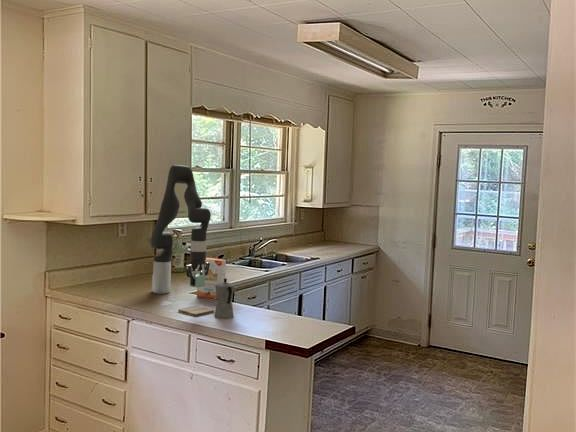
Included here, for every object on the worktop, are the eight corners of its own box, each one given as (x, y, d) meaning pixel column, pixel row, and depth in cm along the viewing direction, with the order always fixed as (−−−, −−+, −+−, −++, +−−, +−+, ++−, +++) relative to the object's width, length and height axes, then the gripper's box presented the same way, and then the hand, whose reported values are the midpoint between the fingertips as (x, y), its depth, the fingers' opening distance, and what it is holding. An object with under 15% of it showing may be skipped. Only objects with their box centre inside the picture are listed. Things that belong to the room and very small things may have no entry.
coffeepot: (210, 313, 273) (211, 276, 272) (229, 312, 277) (230, 275, 276) (219, 321, 259) (221, 282, 258) (239, 320, 263) (241, 281, 261)
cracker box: (196, 297, 306) (197, 258, 304) (201, 294, 311) (202, 256, 310) (220, 299, 301) (221, 260, 300) (225, 297, 307) (226, 259, 306)
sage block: (189, 285, 273) (190, 275, 272) (197, 284, 277) (197, 274, 276) (197, 287, 270) (197, 277, 269) (204, 286, 274) (205, 275, 273)
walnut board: (178, 311, 273) (178, 309, 273) (197, 307, 283) (197, 305, 282) (195, 316, 266) (195, 314, 266) (214, 312, 275) (214, 309, 275)
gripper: (203, 247, 280) (202, 282, 281) (181, 250, 268) (180, 286, 270) (214, 249, 275) (213, 284, 276) (192, 252, 264) (191, 288, 265)
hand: (197, 285), depth 273 cm, fingers closed on sage block, 5 cm apart
